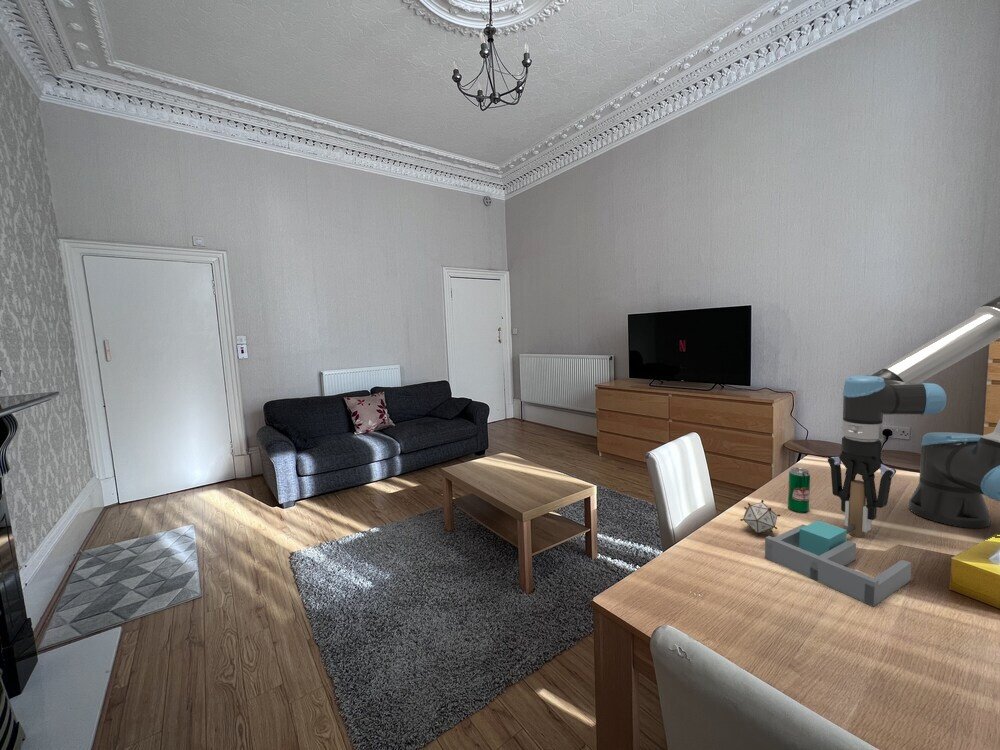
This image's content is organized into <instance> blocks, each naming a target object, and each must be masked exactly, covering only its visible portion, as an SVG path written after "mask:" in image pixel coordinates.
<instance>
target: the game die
mask: <svg viewBox="0 0 1000 750" xmlns="http://www.w3.org/2000/svg"><path fill="white" fill-rule="evenodd" d="M747 505H748V506H747V507H746V506H744V510H745V511H744V512H745V513H744V516H743V518H740V519H739V521H740V522H745V523H746V524H747V525H748V526H749V528H751V529H752V530H753V531H754V532H756V536H758V537H759V536H760V534H762V533H765V532H770V533H771V534H772V533H773V529H775V530H778V527H777V526H776V523H777V520H778V517H781V514H777V513H775V512H774V511H773V510H772V507H768V505H766V504H765V503H764V500H763V499H761V501H760V502H757V503H752V504H751V503H750V502H747Z"/></svg>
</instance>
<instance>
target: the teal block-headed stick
mask: <svg viewBox="0 0 1000 750" xmlns="http://www.w3.org/2000/svg"><path fill="white" fill-rule="evenodd" d="M865 505H867V501H866V494H865V487H864V480H860V479H855V480H852V481H851V488H850V511H849V526H848V527H847V526H846V527H845V528H841V527H839V526H836V525H833V524H830V523H828V522H824V521H821V520H816V521H814V522H812V523H809V524H807V526H805V527H802V528H800V538H799V547H798V548H801V549H803V550H806V551H808V552H811V553H813V554H815V555H818V556H820V555H822V554H824V553H825V552H827V551H829V550H831V549H833V548H835V547H837V546H839V545H840V544H842V543H844V542H846V541H847V535H849V536H851V537H854V538H859V539H863V538H864V537H865V532H863V531H862V522H863V506H865Z"/></svg>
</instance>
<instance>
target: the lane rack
mask: <svg viewBox="0 0 1000 750" xmlns="http://www.w3.org/2000/svg"><path fill="white" fill-rule="evenodd" d="M807 525H808V524H807ZM807 525H806V524H800V525H798V526H796V527H794V528H792V529H790V530H787V531H785V532H783V533H781V534H779V535H776V536H774V537H773V536H771V535H768V536H766V537H765V539H764V541H765V542H764V544H765V545H764V558H765V559H767V560H769V561H772V562H773V563H776V564H778V565H781V567H784V568H787V569H789V570H791V571H794V572H796V573H798V574H800V575H802V576H805V577H807V578H808V579H809V578H810V579H811V580H813V581H816V582H818V583H820V584H822V585H825V586H826V587H829V588H831V589H834V590H835V591H837V592H840V593H842V594H844V595H846V596H849V597H851V598H853V599H855V600H857V601H859V602H862V603H864V604H866V605H869V606H871V607H873V608H874V607H875V606H877V605H878V604H880V603H881V602H883V601H884V600H885V599H888V598H889V596H891V595H892V594H894V593H895V592H897V591H898V590H899V589H901V588H902V587H904V586H905V585H906V584H908V583H909V582H910V581H911V577H912V575H911V574H912V573H911V572H912V562H910V561H908V560H904V559H900V560H899V561H897V562H896V563H895V564H893V565H892V566H890V567H887V569H885V570H883V571H882V572H880V573H879V574H877V575H876V576H874V577H872V576H870V575H867V574H865V573H863V572H859V571H857V570H855V569H852V568H850V567H847V565H849V564H851V562H854V561H856V554H857V553H856V552H857V543H856V542H854V541H853V540H852V541H851V540H846V542H844V543H842V544H840V545H839V546H837V547H835V548H833V549H831V550H829V551H827V552H825V553H824V554H822V555H820V556H818V555H815V554H813V553H811V552H808V551H806V550H803V549H801V548H799V538H800V528H802V527H805V526H807Z"/></svg>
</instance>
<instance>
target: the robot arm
mask: <svg viewBox="0 0 1000 750" xmlns="http://www.w3.org/2000/svg"><path fill="white" fill-rule="evenodd" d="M999 339H1000V295H998V296H997V297H995V298H993V299H992V300H990V301H988V302H986V303H984V304H983V305H980V307H977V308H976V309H975V311H974V314H973V315H972V316H971V317H970V318H967V319H966V320H963V321H962V322H961V323H959V324H957V325H955V326H954V327H952V328H950V329H948V330H947V331H945V332H943V333H942V334H940V335H938V336H936V337H934V338H933V339H931V340H929V341H928V342H926V343H924V344H923V345H920V346H919V347H917V348H915V349H914V350H912V351H911V352H909V353H907V354H905V355H904V356H902V357H900V358H899V359H897V360H895V361H894V362H892V363H890V364H888V365H886V366H885V367H883V368H881V369H879V370H878V371H877V372H875V373H872V374H870V375H869V374H866V375H865V374H864V375H851V376H848V377H846V378H845V380H844V385H843V392H842V396H843V403H842V427H841V428H842V430H841V434H842V435H843V436H842V437H841V453H840V454H839V456H832V457H828V458H827V463H828V464H829V466H830V475H831V476H830V477H831V489H832V490H831V492H832V495H833V496H835V497H838V498H840V500H841V503H840V510H841V512H844V526H845V527H846V528H847V527H849V511H850V488H851V481H852V480H856V477H857V476H858V475H860V476H861V479H862V481H864V487H865V494H866V504H865V506H863V522H862V531H863V532H864V533H868V532H869V531H872V521H874V520H875V519H877V509H878V508H880V509H882V508H884V507H886V506H887V505H888V501H889V496H890V495H889V494H890V489H891V483H892V478H893V477H894V476H895V475H896V473H897V470H896V469H895V468H890V467H888V466H887V465H885V464H884V463H883V461H882V456H881V455H882V444H883V443H882V441H881V439H882V438H883V419H884V415H886V416H887V415H888V416H889V415H890V416H891V415H921V416H924V415H933V414H934V415H935V414H938V413H941V412H943V410H944V409H945V407H946V405H947V399H948V398H947V393H946V392H945V390H944V388H943V387H942V386H940V385H939V384H937V383H934V382H933V383H931V382H930V383H929V382H927V383H926V382H925V383H924V381H925V380H927V379H929V378H931V377H933V376H935V375H936V374H938V373H939V372H942V371H944V370H946V369H947V368H949V367H951V366H953V365H954V364H956V363H958V362H960V361H961V360H963V359H966V358H967V357H969V356H970V355H973V354H974V353H976V352H978V351H980V350H981V349H982V348H985V347H986V346H989V345H990V344H992V343H993V342H995V341H997V340H999ZM921 440H922V441H921V444H920V449H921V450H920V464H919V465H920V466H919V481H918V484H917V487H916V488H915V490H914V492H913V493H912V494H911V497H910V498H909V503H908V509H909V508H910V509H911V510H912V511H913V512H915V513H916V514H918V515H920V516H919V517H921V516H922V517H921V518H923V517H925V518H924V519H926V518H927V519H926V520H928V519H930V520H929V521H932V520H933V522H935V521H936V522H935V523H938V522H940V523H939V524H942V523H944V525H947V524H948V526H952V525H953V527H958V526H959V527H958V528H968V529H983V528H987V527H989V526H990V523H991V514H990V512H989V511H990V510H989V509H988V507H987V503H986V501H985V498H984V496H986V497H988V498H989V499H990V500H992V501H993V500H995V501H997V502H1000V418H999V420H998V421H997V423H996V425H995V428H994V430H993V431H992V432H989V433H985V434H983V435H982V434H976V433H965V432H951V431H949V432H945V431H940V432H939V431H937V432H935V431H933V432H927V433H925V434H924V435H923V436H922V439H921ZM841 465H843V466H844V467H845V473H844V481H843V479H842V477H843V476H842V466H841ZM879 470H880V475H881V478H880V481H879V488H878V492H877V489H876V482H875V477H876V476H875V473H876V472H877V471H879ZM983 495H984V496H983ZM910 509H909V510H910ZM912 511H911V512H912ZM913 512H912V513H913ZM915 513H914V514H915ZM916 514H915V515H916ZM918 515H917V516H918Z"/></svg>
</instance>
